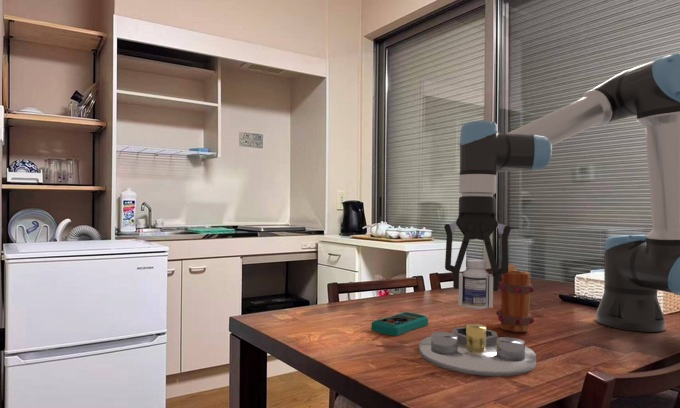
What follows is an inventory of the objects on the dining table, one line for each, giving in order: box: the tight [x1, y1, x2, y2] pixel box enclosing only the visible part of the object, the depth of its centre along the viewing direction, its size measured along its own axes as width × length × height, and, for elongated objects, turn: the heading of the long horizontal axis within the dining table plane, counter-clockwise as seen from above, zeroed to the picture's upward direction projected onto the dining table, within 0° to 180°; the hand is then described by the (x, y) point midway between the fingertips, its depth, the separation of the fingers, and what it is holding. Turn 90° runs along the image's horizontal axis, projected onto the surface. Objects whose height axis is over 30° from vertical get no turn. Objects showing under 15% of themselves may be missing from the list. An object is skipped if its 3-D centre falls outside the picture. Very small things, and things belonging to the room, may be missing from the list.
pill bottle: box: [462, 259, 490, 310], centre depth 99 cm, size 5×5×10 cm
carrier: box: [418, 323, 537, 377], centre depth 92 cm, size 22×22×6 cm
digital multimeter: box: [371, 311, 429, 337], centre depth 113 cm, size 7×15×3 cm, turn 138°
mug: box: [495, 264, 535, 334], centre depth 115 cm, size 15×8×15 cm, turn 168°
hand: (475, 305), depth 99 cm, fingers closed on pill bottle, 5 cm apart
